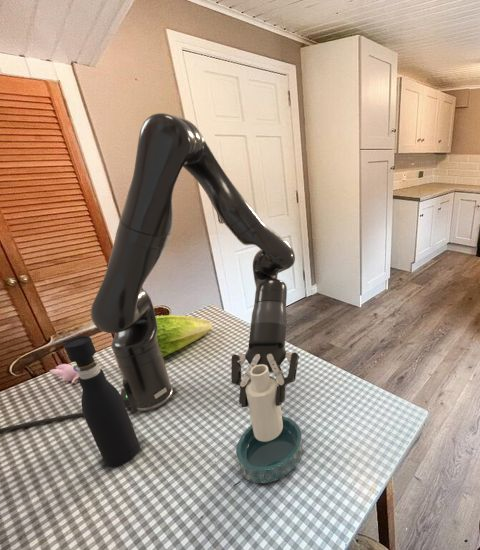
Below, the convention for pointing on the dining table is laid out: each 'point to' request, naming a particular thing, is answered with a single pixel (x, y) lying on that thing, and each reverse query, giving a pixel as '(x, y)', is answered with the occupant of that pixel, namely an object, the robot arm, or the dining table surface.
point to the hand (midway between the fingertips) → (261, 406)
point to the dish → (269, 453)
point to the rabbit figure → (66, 372)
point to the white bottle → (263, 404)
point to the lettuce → (179, 331)
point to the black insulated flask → (102, 406)
